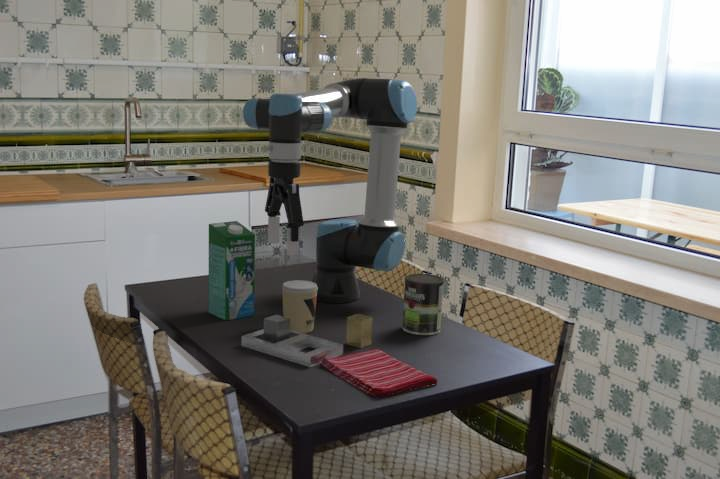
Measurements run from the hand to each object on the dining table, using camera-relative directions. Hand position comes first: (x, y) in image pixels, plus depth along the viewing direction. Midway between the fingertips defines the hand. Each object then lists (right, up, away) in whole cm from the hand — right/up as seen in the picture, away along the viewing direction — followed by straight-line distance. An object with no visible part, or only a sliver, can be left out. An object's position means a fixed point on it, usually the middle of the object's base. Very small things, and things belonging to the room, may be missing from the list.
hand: (282, 248), depth 202 cm
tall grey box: (-2, -24, +4) cm, 24 cm away
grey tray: (+2, -25, +1) cm, 25 cm away
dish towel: (+23, -29, -12) cm, 39 cm away
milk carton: (-17, -18, +29) cm, 38 cm away
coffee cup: (+3, -21, +18) cm, 28 cm away
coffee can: (+35, -22, +21) cm, 46 cm away
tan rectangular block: (+18, -24, +8) cm, 31 cm away
